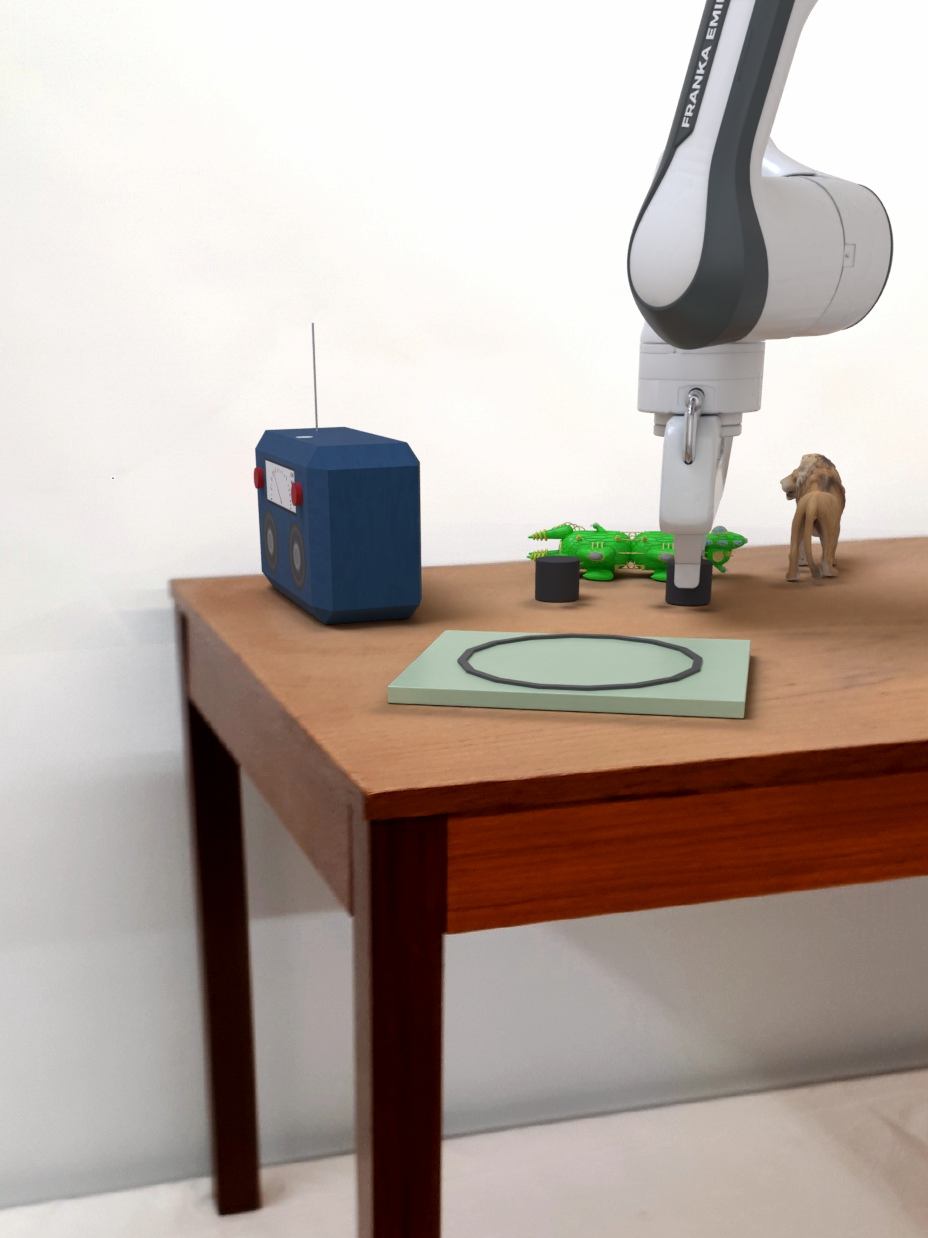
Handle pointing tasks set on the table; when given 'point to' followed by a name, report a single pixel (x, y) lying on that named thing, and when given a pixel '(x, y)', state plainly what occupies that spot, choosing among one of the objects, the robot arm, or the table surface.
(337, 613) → the radio
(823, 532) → the lion figurine
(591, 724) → the table surface
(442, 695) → the board
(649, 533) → the green toy spaceship
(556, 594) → the eye dot
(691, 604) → the eye dot
